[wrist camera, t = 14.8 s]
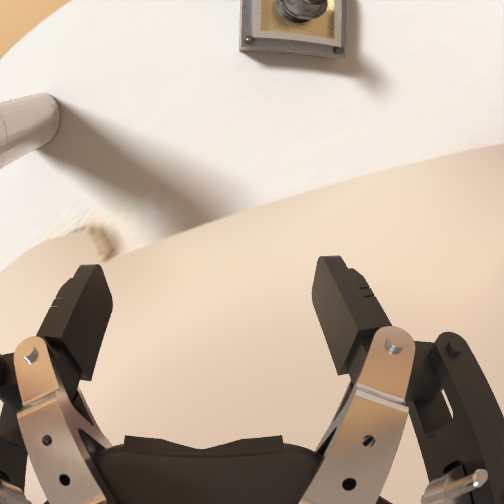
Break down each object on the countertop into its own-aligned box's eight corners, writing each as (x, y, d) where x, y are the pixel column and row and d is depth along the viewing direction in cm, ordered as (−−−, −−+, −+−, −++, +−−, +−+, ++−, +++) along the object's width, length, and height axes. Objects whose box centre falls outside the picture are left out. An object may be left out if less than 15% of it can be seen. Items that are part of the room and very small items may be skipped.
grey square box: (239, 50, 32) (241, 45, 27) (241, -28, 24) (244, -42, 20) (334, 59, 33) (349, 57, 29) (334, -17, 25) (349, -26, 21)
